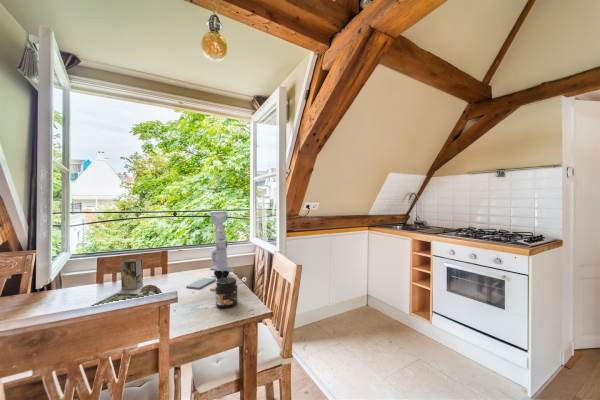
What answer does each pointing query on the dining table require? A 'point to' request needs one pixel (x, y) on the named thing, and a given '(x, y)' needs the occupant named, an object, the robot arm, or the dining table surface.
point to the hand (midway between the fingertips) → (222, 283)
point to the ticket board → (201, 283)
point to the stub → (214, 287)
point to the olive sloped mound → (119, 296)
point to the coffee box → (131, 274)
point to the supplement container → (226, 292)
